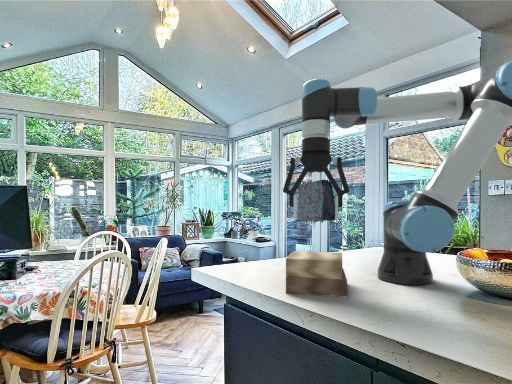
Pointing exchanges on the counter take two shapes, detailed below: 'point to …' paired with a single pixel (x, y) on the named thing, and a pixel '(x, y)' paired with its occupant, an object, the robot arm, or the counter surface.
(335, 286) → the tower base
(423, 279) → the robot arm
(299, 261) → the tower top
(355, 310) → the counter surface
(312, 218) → the stone
